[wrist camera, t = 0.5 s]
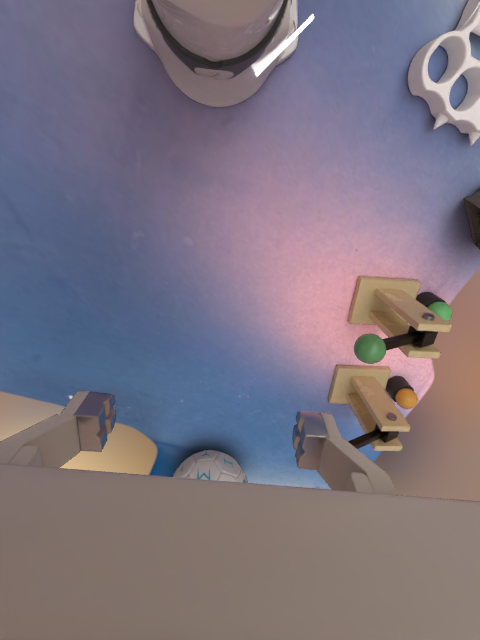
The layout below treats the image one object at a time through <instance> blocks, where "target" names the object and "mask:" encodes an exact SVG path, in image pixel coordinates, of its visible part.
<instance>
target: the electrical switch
mask: <svg viewBox="0 0 480 640" xmlns="http://www.w3.org/2000/svg"><path fill="white" fill-rule="evenodd" d="M464 201H465V206H466V210H467V215H468V220H469V225H470V229H471V234H472V239H473V243H474V242H475V243H474V244H475V245H476V246H477V247H478V248H479V249H480V219H479V215H480V212H479V211H480V191H478V192H476V193H474V194H472V195H470V196H468V197H465V198H464ZM470 210H471V211H470ZM476 212H478V213H476ZM478 223H479V224H478ZM477 241H478V242H477Z"/></svg>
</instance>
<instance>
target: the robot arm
mask: <svg viewBox="0 0 480 640" xmlns="http://www.w3.org/2000/svg"><path fill="white" fill-rule="evenodd" d="M313 18H314V15H313V14H312V15H311V16H310V17H309V18H308V19H307V20H306V21H305V22H304V23H303V24H302V26H301V27H300V28H299V29H298V12H297V0H136V1H135V10H134V27H135V30H136V32H137V34H138V35H139V37H140V38H141V39H142V40H143V41H144V42H145V43H146V44H147V45H148V46H149V47H150V48H151V49H152V50H154V51H155V52H156V54H157V55H158V57H159V58H160V60H161V62H162V64H163V66H164V68H165V70H166V71H167V73H168V75H169V76H170V78H171V79H172V81H173V82H174V83H175V84H176V86H177V87H178V88H179V89H180V90H181V91H182V92H183V93H185V94H186V95H187V96H188V97H190V98H191V99H193V100H195V101H197V102H199V103H201V104H204V105H207V106H212V107H228V106H232V105H236V104H238V103H240V102H242V101H244V100H246V99H248V98H249V97H250V96H252V95H253V94H254V93H255V92H256V91H257V90H258V89H259V88H260V87H261V86H262V84H263V83H264V82H265V80H266V79H267V77H268V76H269V74H270V73H271V71H272V70H273V69H274V68H275V67H276V66H277V65H278V64H280V63H282V62H283V61H285V60H286V59H287V58H289V57H290V56H291V55H292V54H293V53H294V52H295V50H296V48H297V44H298V34H299V33H300V32H301V31H302V30H303V29H304V28H305V27H306V26H307V25H308V24H309V23H310V22H311V21H312V20H313ZM114 404H115V396H114V394H107V393H98V392H88V391H78V392H76V394H75V395H74V396H73V398H72V399H71V400H70V401H69V403H68V404H67V405H66V407H65V408H64V409H63V411H62V412H61V413H60V414H56V415H54V416H52V417H49V418H48V419H45V420H43V421H42V422H39V423H37V424H35V425H33V426H31V427H29V428H27V429H25V430H23V431H21V432H19V433H17V434H15V435H13V436H11V437H9V438H7V439H5V440H3V441H0V640H480V501H466V500H454V499H441V498H428V497H415V496H403V495H398V493H397V491H396V489H395V487H394V485H393V483H392V481H391V479H390V477H389V475H388V474H387V473H386V472H384V471H383V470H382V469H381V468H380V467H378V466H377V465H376V464H375V463H373V462H372V461H371V460H370V459H369V458H367V457H366V456H365V455H364V454H362V453H361V452H360V451H359V450H358V449H356V448H355V447H354V446H353V445H352V444H350V443H349V442H348V441H347V440H345V439H342V438H341V435H340V433H339V430H338V428H337V425H336V422H335V420H334V417H333V415H332V414H331V413H315V412H304V411H298V412H297V415H296V422H297V424H296V425H295V426H294V428H293V437H292V439H293V447H294V449H295V450H296V454H295V457H296V462H297V467H298V468H302V469H311V470H317V472H318V473H319V474H320V475H321V477H322V478H323V479H324V480H325V481H326V483H327V484H328V485H329V486H330V488H331V489H332V490H328V489H315V488H302V487H290V486H277V485H265V484H252V483H240V482H227V481H215V480H202V479H189V478H177V477H164V476H152V475H139V474H127V473H113V472H102V471H89V470H77V469H64V468H60V467H61V466H62V465H64V464H65V463H66V462H68V461H69V460H70V459H72V458H73V457H74V456H76V455H77V454H78V453H79V452H80V451H95V452H101V451H102V449H103V447H104V445H105V444H106V442H107V435H108V434H109V433H111V432H112V429H113V427H114V424H115V420H116V410H115V409H114V408H113V406H114Z"/></svg>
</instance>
